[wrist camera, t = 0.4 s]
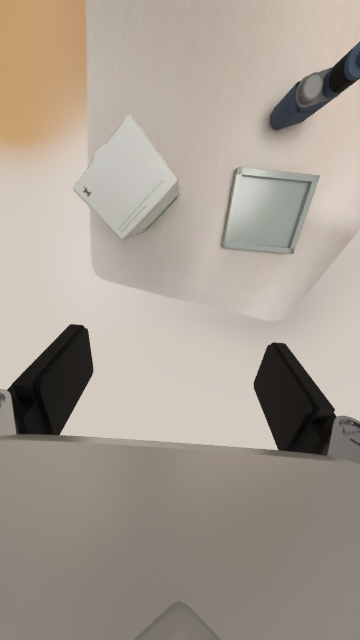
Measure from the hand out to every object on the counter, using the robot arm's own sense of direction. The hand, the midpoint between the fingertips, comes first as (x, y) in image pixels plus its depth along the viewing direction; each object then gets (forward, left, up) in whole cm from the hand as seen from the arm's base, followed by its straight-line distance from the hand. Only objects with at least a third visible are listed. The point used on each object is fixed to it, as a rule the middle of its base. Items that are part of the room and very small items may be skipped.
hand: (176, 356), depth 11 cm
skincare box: (-8, -6, -30) cm, 31 cm away
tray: (-7, +13, -29) cm, 33 cm away
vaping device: (-19, +13, -30) cm, 38 cm away
